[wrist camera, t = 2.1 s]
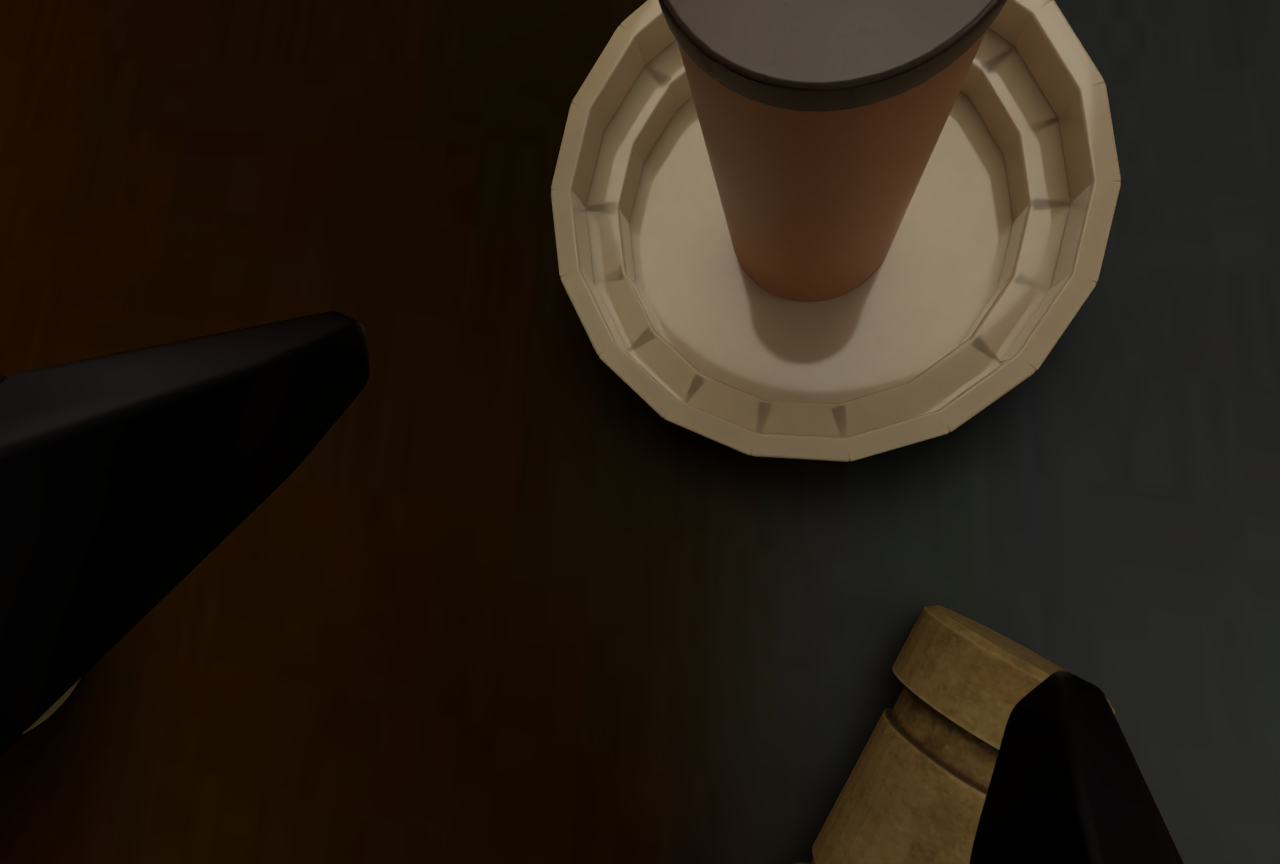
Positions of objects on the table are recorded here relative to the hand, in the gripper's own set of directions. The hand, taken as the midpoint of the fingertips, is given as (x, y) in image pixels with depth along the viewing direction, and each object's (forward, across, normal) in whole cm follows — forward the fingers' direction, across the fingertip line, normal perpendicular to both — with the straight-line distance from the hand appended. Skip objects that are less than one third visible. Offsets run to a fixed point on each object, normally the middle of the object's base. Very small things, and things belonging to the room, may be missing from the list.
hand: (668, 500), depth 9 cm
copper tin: (+14, +1, +3) cm, 15 cm away
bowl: (+15, +1, +3) cm, 15 cm away
